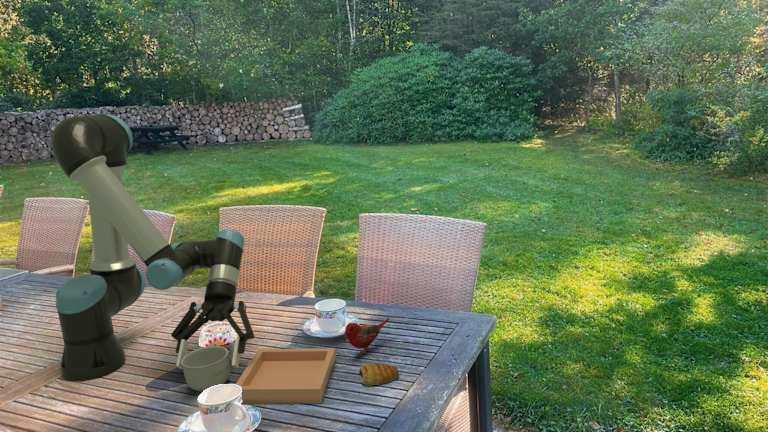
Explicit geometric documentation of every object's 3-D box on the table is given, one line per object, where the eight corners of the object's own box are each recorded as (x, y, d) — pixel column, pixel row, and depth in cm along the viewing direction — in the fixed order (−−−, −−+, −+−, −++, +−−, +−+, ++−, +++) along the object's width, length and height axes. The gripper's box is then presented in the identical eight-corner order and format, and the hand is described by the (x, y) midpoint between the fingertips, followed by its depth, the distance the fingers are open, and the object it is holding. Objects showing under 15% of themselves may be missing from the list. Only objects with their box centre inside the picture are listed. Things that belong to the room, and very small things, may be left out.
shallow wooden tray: (233, 403, 128) (232, 389, 127) (259, 361, 147) (258, 349, 147) (321, 403, 126) (320, 389, 125) (335, 360, 146) (334, 348, 145)
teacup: (221, 398, 131) (217, 366, 129) (176, 397, 132) (172, 365, 130) (243, 368, 144) (239, 339, 142) (202, 368, 146) (198, 339, 144)
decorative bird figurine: (341, 361, 145) (339, 325, 143) (386, 337, 158) (384, 303, 156) (350, 364, 143) (347, 327, 141) (394, 339, 156) (393, 305, 154)
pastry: (394, 369, 140) (394, 355, 139) (402, 382, 134) (401, 368, 133) (357, 375, 138) (356, 361, 137) (363, 389, 132) (362, 374, 131)
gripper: (272, 290, 149) (262, 371, 138) (181, 293, 151) (163, 372, 140) (265, 278, 143) (253, 361, 131) (169, 280, 145) (150, 362, 133)
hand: (207, 367), depth 135 cm, fingers open, 13 cm apart
